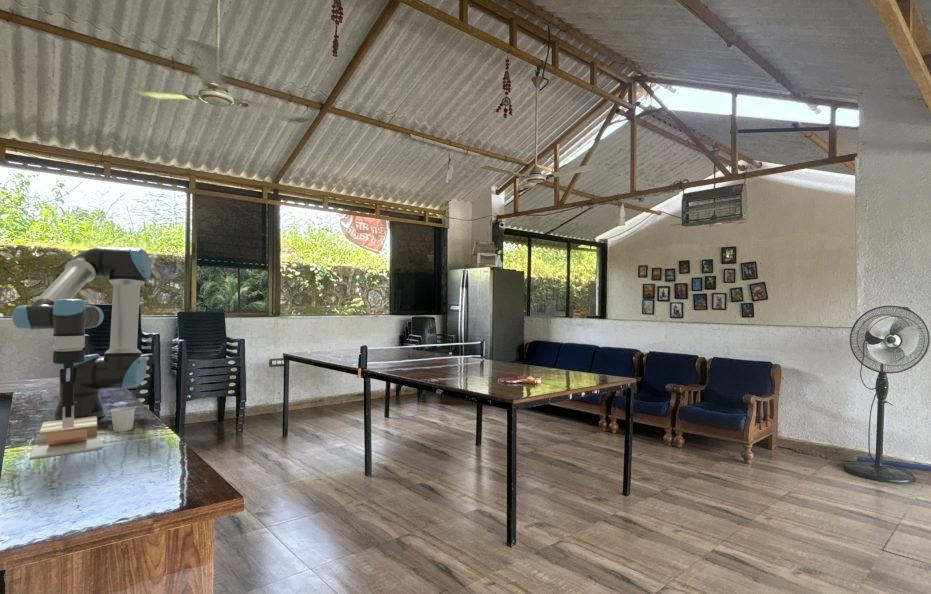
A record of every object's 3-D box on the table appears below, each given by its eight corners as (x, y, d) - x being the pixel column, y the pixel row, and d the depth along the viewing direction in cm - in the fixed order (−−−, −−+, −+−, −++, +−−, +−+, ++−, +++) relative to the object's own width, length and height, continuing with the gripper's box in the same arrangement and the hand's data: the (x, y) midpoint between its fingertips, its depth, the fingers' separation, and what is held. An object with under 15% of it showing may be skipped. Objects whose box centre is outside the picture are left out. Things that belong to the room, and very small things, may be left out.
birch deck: (43, 434, 162) (43, 422, 162) (96, 427, 170) (96, 416, 170) (39, 445, 149) (39, 432, 149) (97, 438, 158) (97, 425, 158)
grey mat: (34, 447, 148) (34, 445, 148) (100, 438, 157) (100, 436, 157) (29, 459, 137) (29, 457, 137) (101, 448, 146) (101, 446, 146)
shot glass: (113, 427, 171) (113, 407, 171) (136, 425, 174) (136, 405, 174) (108, 432, 165) (108, 411, 165) (133, 430, 168) (133, 409, 168)
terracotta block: (47, 433, 143) (47, 441, 143) (86, 429, 149) (86, 436, 148) (48, 438, 148) (48, 446, 147) (86, 433, 153) (86, 440, 152)
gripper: (54, 348, 153) (53, 424, 153) (51, 352, 143) (50, 433, 143) (84, 347, 158) (84, 421, 158) (84, 350, 148) (83, 429, 147)
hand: (68, 427), depth 150 cm, fingers closed
